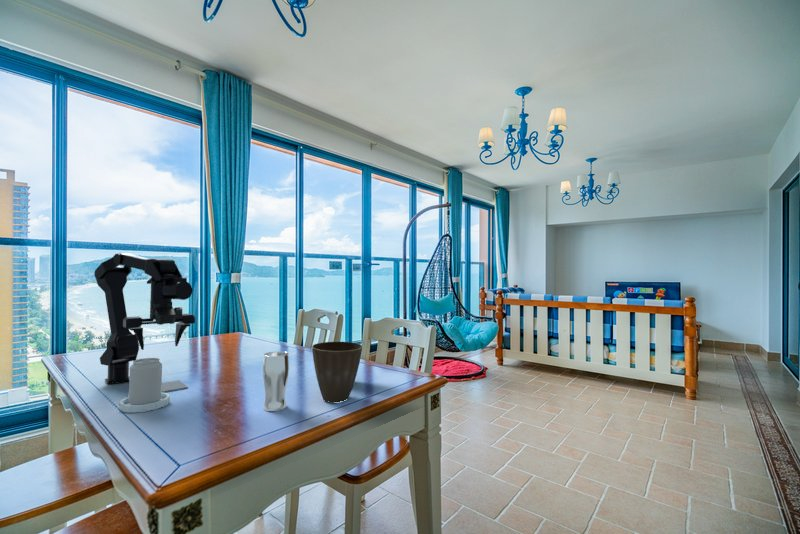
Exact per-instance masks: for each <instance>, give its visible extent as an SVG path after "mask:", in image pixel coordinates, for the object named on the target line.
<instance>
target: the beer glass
mask: <svg viewBox="0 0 800 534" xmlns="http://www.w3.org/2000/svg"><path fill="white" fill-rule="evenodd" d="M289 358H290V356H289V352H287V351H269V352H266V353H263V361H262V379H263V380H262V381H263V385H264V393H265V395H264V403H263V411H265V412H269V411H271V412H272V411H275V412H280V411H279V410H281V411H283V410H285V409H286V408H287V401H286V392H287V391H286V389H287V385H288V379H289V372H290V371H289V370H290V360H289ZM284 408H285V409H284ZM282 409H283V410H282Z"/></svg>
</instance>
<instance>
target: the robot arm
mask: <svg viewBox="0 0 800 534" xmlns="http://www.w3.org/2000/svg"><path fill="white" fill-rule="evenodd" d="M132 269H136V270H141V271H142V272H143V271H144V274H145V275H147V276H149V277H150V278H149V279H148V280H147V281H146V284H147V285H150V301H149V304H150V305H149V306H150V307H149V318H148V317H147V318H142V317H141V316H128V314H127V308H126V302H125V295H124V288H125V286H126V284H127V282H128V276H129V275H130V274H131V273H132ZM93 273H94V278H95V280H96V284H97V286H98V287H99V288H100V289H101V290H102V291H103V292H104V297H105V303H106V310H107V316H108V323H109V330H110V336H108V339H107V342H106V346H105V347H106V349H105V351H103V353H102V354H101V356H100V357H99V360H100V361H99V362H100V363H99V364H100V365H102V366H107V378H104V382H105V384H106V385H113V384H118V383H119V384H120V383H125V382H129V377H130V362H133V361H135V360H137V358H138V354H139V351H140V349H141V350H142V351H144V350H145V349H144V348H145V343H144V342H145V341H144V333H143V332H144V328H143V327H142V325H152V324H153V325H155V324H157V325H158V326H160V325H161V326H162V325H166V324H167V325H168V324H170V325H173V324H175V334H174V347H178V345H179V342H180V340H181V338H182V336H183V333H184V332H185V331H186V329H187V328H188V327H191V324H196V316H195V315H194V314H192V313H183V307H181V306H180V307H178V306H177V307H173V300H182V301H185V300H188V299H189V298H190V297H192V294H193V287H192V284H191V283H189V281H188V279H187V277H183V275H182V274H181V272H180V270H179V268H178V266H177V264H176V261H175V260H174V259H170V258H149V257H144V256H139V255H134V254H133V253H123V252H118V253H115V254H114V255H113V256H112V257H111V258H110V259H107V260H105V261H102V262H101V263H100V264H99V266H97V268H96V269H95V270H94V272H93ZM132 331H133V333H134V334H133V333H132Z"/></svg>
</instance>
